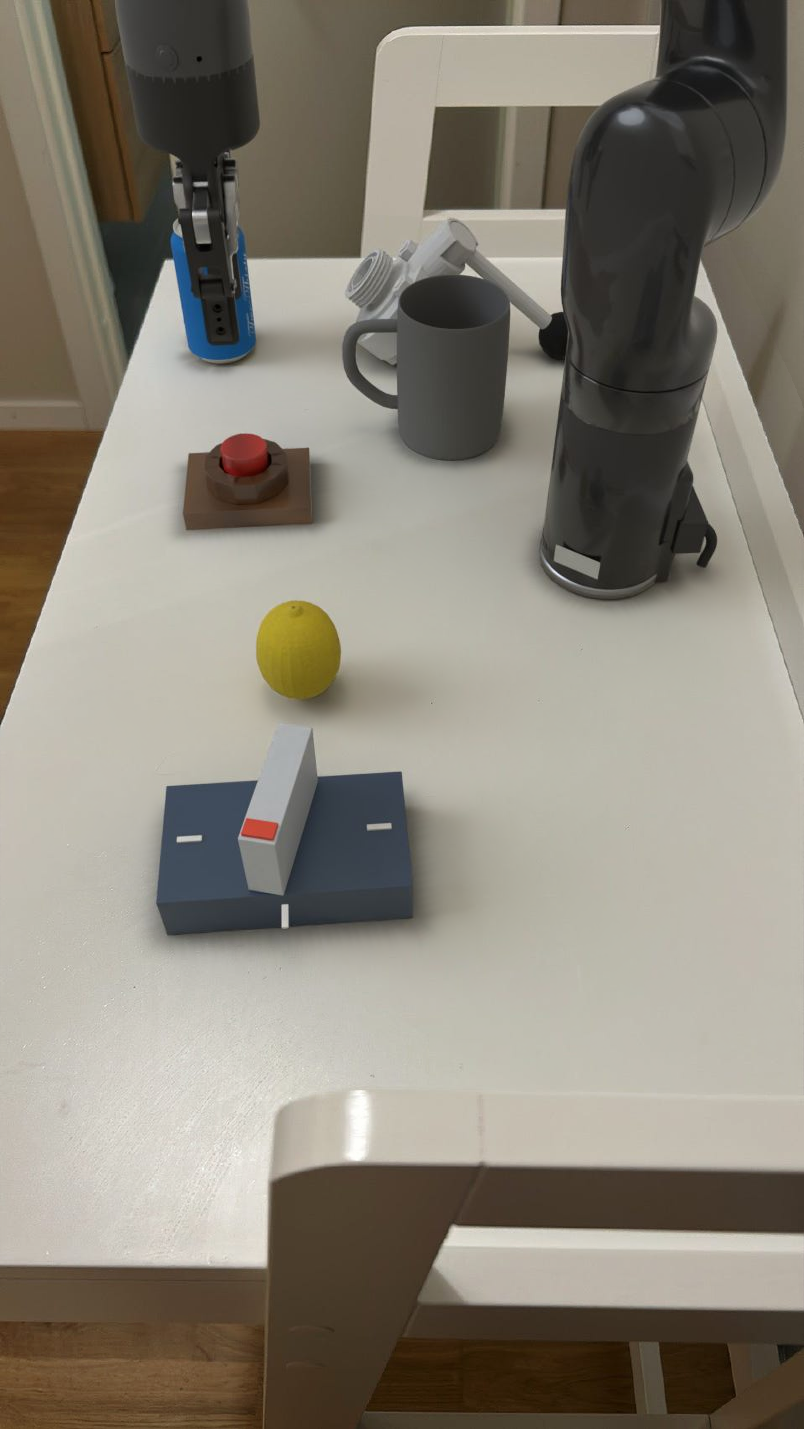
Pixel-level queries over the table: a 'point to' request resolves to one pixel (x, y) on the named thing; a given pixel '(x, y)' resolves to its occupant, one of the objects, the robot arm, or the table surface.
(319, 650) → the lemon
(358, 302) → the valve
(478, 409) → the mug
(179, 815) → the blue dial base
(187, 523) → the button block
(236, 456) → the button
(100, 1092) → the table surface
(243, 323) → the beverage can
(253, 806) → the white slab
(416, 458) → the table surface
